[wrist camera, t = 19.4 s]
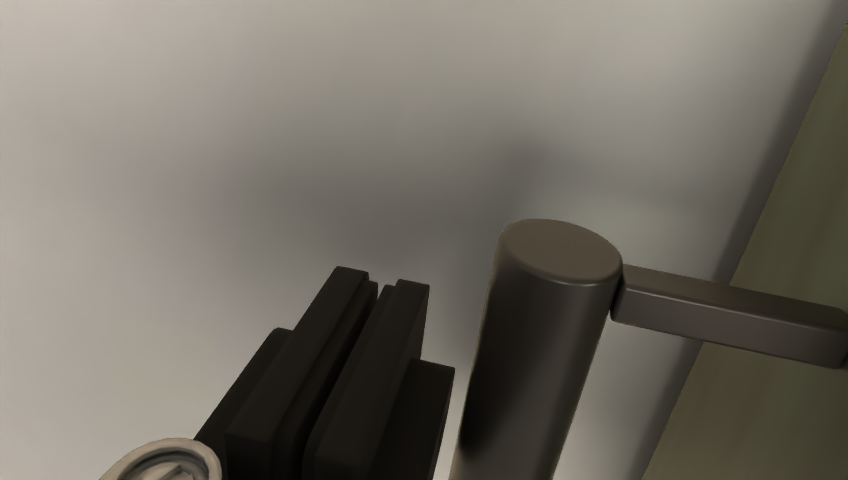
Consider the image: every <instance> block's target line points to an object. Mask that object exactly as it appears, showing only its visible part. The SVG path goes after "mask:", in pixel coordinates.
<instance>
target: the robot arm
mask: <svg viewBox="0 0 848 480" xmlns="http://www.w3.org/2000/svg"><path fill="white" fill-rule="evenodd" d="M429 290H430V286H429V285H427V284H422V283H418V282H413V281H408V280H403V279H398V281H397V283H396V285H395V286H392V285H388V284H386V285H385V286H384V288H383V290H382V292H381V294H380V296H379V298H378V300H377V297H378V283H377V282H374V281H369V274H368V272H365V271H361V270H356V269H351V268H346V267H342V266H337V267H336V268H335V269H334V270H333V272H332V273H331V275H330V276H329V278H328V279H327V281H326V282H325V284H324V285H323V287H322V288H321V290H320V291H319V293H318V294H317V296H316V297H315V299H314V300H313V302H312V303H311V305H310V306H309V307H308V309H307V310H306V312H305V313H304V315H303V316H302V318H301V319H300V321H299V322H298V324H297V325H296V327H295V328H294V330H293V331H292V330H288V329H283V328H279V327H278V328H276V329H274V330H273V331H272V332H271V333H270V334H269V335H268V337H267V338H266V340H265V341H264V342H263V344H262V345H261V346H260V348H259V349H258V351H257V352H256V353H255V355H254V356H253V357H252V359H251V360H250V362H249V363H248V364H247V366H246V367H245V368H244V370H243V371H242V373H241V374H240V375H239V377H238V378H237V380H236V381H235V382H234V384H233V385H232V386H231V388H230V389H229V391H228V392H227V393H226V395H225V396H224V397H223V399H222V400H221V402H220V403H219V404H218V406H217V407H216V409H215V410H214V411H213V413H212V414H211V415H210V417H209V418H208V420H207V421H206V422H205V424H204V425H203V426H202V428H201V429H200V431H199V432H198V433H197V435H196V436H195V438H194V439H193V440H191V439H187V438H167V439H162V440H158V441H154V442H150V443H148V444H145V445H143V446H141V447H139V448H137V449H135V450H132V451H131V452H130V453H128V454H127V455H126V456H124V457H123V458H122V459H120V460H119V461H118V462H117V463H116V464H114V465H113V466H112V467H111V468H110V469H109V470H108V471H107V472H106V473H105V474H104V475H103V476H102V477H101V478H100V479H99V480H433V475H434V471H435V467H436V463H437V459H438V455H439V451H440V446H441V442H442V438H443V433H444V428H445V424H446V419H447V414H448V409H449V404H450V398H451V393H452V387H453V381H454V375H455V368H454V367H450V366H445V365H441V364H437V363H432V362H428V361H424V360H420V357H421V350H422V343H423V335H424V328H425V321H426V313H427V306H428V299H429Z"/></svg>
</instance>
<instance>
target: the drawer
mask: <svg viewBox="0 0 848 480" xmlns="http://www.w3.org/2000/svg"><path fill="white" fill-rule="evenodd" d="M609 310H610V316H611V319H612V320H613V321H614V322H617V323H622V324H627V325H631V326H636V327H640V328H645V329H650V330H654V331H659V332H664V333H668V334H673V335H677V336H682V337H687V338H691V339H696V340H700V341H704V342H703V345H702V347H701V349H700V351H699V353H698V356H697V358H696V360H695V362H694V365H693V367H692V369H691V371H690V373H689V376H688V378H687V380H686V382H685V385H684V387H683V389H682V391H681V394H680V396H679V398H678V400H677V402H676V405H675V407H674V409H673V411H672V414H671V416H670V418H669V420H668V422H667V425H666V427H665V429H664V431H663V434H662V436H661V438H660V440H659V443H658V445H657V447H656V449H655V451H654V454H653V456H652V458H651V460H650V463H649V465H648V467H647V469H646V471H645V474H644V476H643V478H642V480H848V22H847V24H846V26H845V28H844V31H843V33H842V35H841V37H840V40H839V42H838V44H837V46H836V48H835V51H834V53H833V55H832V57H831V60H830V62H829V64H828V66H827V68H826V71H825V73H824V75H823V77H822V80H821V82H820V84H819V86H818V89H817V91H816V93H815V95H814V97H813V100H812V102H811V104H810V106H809V109H808V111H807V113H806V115H805V117H804V120H803V122H802V124H801V126H800V129H799V131H798V133H797V135H796V137H795V140H794V142H793V144H792V146H791V149H790V151H789V153H788V155H787V158H786V160H785V162H784V164H783V166H782V169H781V171H780V173H779V175H778V178H777V180H776V182H775V184H774V186H773V189H772V191H771V193H770V195H769V198H768V200H767V202H766V204H765V207H764V209H763V211H762V213H761V215H760V218H759V220H758V222H757V224H756V227H755V229H754V231H753V233H752V235H751V238H750V240H749V242H748V244H747V247H746V249H745V251H744V253H743V255H742V258H741V260H740V262H739V264H738V267H737V269H736V271H735V273H734V276H733V278H732V280H731V282H730V284H729V285H725V284H720V283H715V282H710V281H705V280H700V279H696V278H691V277H686V276H681V275H676V274H671V273H666V272H661V271H656V270H651V269H647V268H642V267H637V266H632V265H627V264H623V261H622V257H621V255H620V253H619V251H618V250H617V249H616V248H615V247H614V246H613V245H612V244H611V243H610V242H609V241H608V240H606V239H605V238H603V237H602V236H600V235H598V234H596V233H594V232H592V231H590V230H588V229H586V228H583V227H580V226H577V225H574V224H571V223H567V222H563V221H557V220H550V219H526V220H521V221H517V222H514V223H512V224H510V225H508V226H507V227H506V228H505V229H504V230H503V231H502V232H501V234H500V235H499V238H498V242H497V247H496V252H495V257H494V262H493V266H492V271H491V276H490V281H489V286H488V291H487V296H486V300H485V305H484V310H483V315H482V320H481V325H480V329H479V334H478V339H477V344H476V349H475V354H474V359H473V363H472V368H471V373H470V378H469V383H468V388H467V392H466V397H465V402H464V407H463V412H462V417H461V422H460V426H459V431H458V436H457V441H456V446H455V451H454V455H453V460H452V465H451V470H450V475H449V480H552V479H553V476H554V473H555V470H556V467H557V464H558V461H559V458H560V455H561V452H562V449H563V446H564V444H565V441H566V438H567V435H568V432H569V429H570V426H571V423H572V420H573V417H574V414H575V411H576V408H577V405H578V402H579V399H580V396H581V393H582V390H583V387H584V384H585V381H586V378H587V375H588V372H589V369H590V366H591V363H592V360H593V357H594V354H595V351H596V348H597V346H598V343H599V340H600V337H601V334H602V331H603V328H604V325H605V322H606V319H607V316H608V313H609Z"/></svg>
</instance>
